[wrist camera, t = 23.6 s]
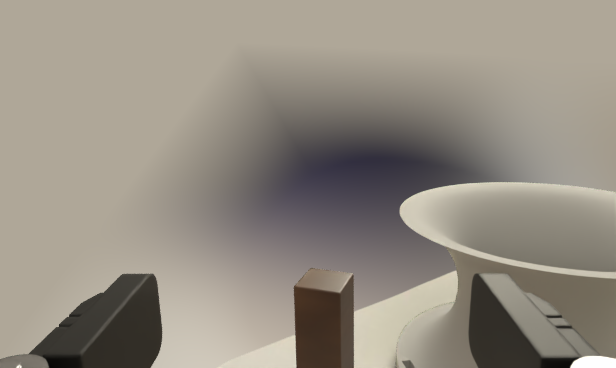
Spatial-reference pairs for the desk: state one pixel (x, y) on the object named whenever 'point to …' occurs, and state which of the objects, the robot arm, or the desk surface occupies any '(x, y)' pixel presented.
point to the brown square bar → (324, 319)
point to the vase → (516, 260)
